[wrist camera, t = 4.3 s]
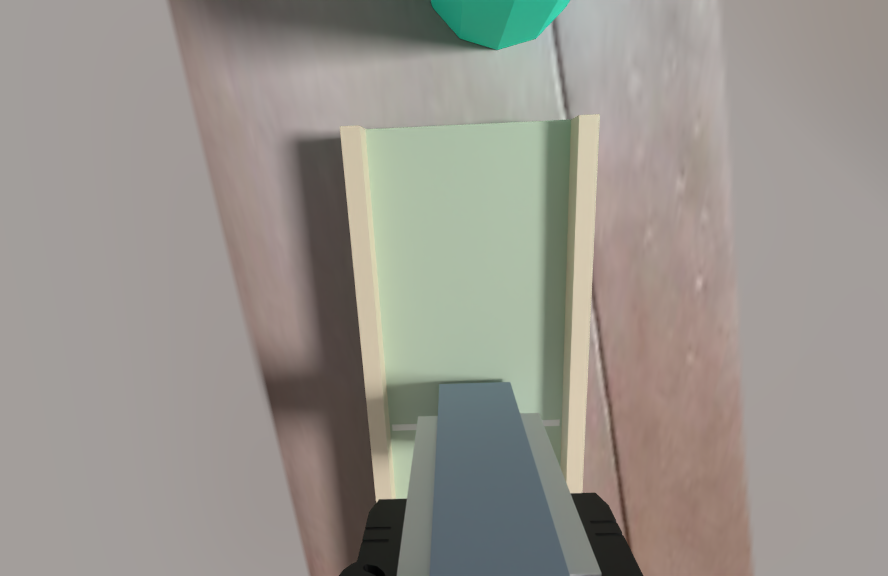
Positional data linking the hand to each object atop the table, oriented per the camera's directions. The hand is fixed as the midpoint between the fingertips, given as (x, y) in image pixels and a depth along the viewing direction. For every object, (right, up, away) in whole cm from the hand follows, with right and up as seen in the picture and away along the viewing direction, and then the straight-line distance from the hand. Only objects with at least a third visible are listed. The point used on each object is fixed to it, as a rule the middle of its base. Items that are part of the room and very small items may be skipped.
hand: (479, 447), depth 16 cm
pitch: (0, 0, +5) cm, 5 cm away
